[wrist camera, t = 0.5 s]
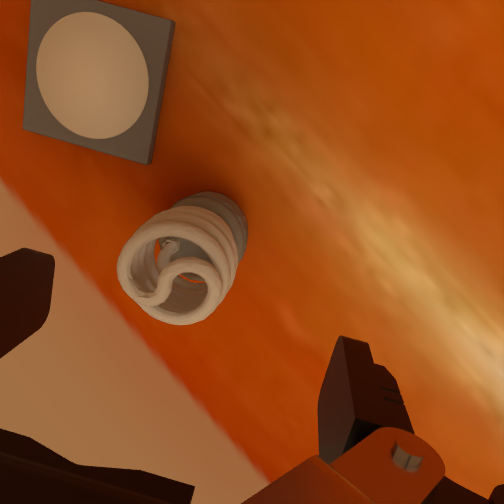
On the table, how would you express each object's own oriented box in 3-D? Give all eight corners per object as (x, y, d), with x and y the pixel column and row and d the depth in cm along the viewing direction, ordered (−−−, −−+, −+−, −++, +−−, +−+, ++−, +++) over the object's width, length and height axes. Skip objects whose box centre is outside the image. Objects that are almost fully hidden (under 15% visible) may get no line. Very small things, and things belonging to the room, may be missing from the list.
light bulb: (194, 264, 33) (129, 351, 22) (169, 191, 31) (84, 244, 20) (268, 246, 32) (238, 329, 20) (245, 169, 30) (199, 214, 19)
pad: (40, -15, 28) (31, -18, 27) (175, 22, 28) (170, 20, 27) (29, 128, 31) (21, 129, 30) (151, 163, 31) (146, 165, 30)
